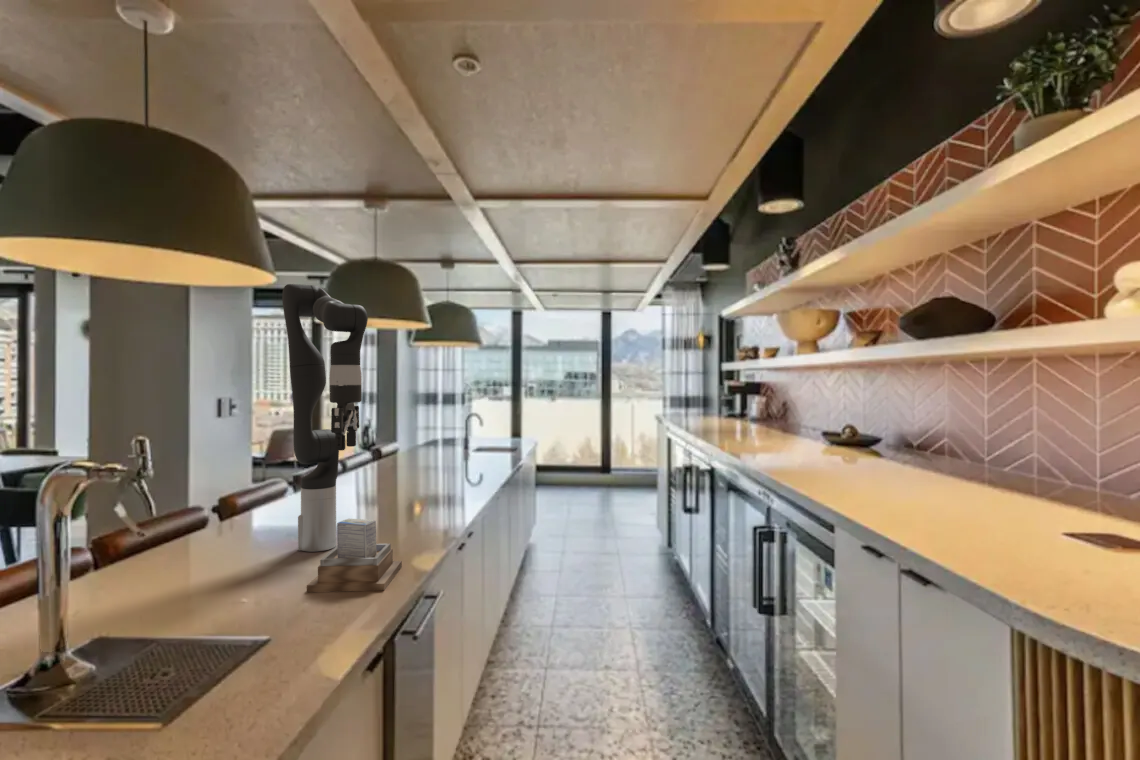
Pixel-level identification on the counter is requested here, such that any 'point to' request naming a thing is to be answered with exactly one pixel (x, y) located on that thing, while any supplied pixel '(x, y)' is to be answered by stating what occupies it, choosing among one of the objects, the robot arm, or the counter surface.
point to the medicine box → (356, 538)
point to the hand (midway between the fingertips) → (345, 448)
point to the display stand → (356, 572)
